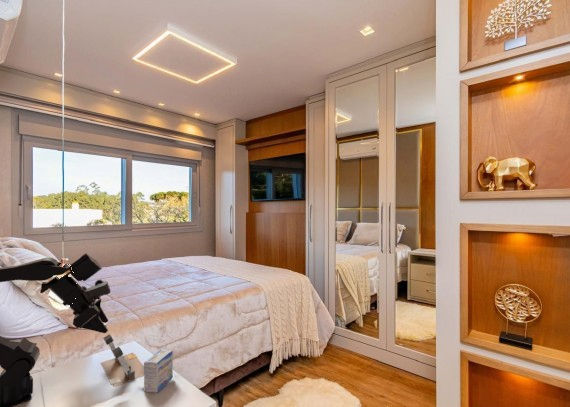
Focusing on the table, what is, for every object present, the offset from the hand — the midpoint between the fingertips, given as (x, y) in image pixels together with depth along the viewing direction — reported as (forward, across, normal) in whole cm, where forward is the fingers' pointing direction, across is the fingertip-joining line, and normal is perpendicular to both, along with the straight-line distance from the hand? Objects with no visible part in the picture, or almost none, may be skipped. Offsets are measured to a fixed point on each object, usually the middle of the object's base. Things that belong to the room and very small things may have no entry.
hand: (106, 326), depth 92 cm
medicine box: (+21, -13, -1) cm, 25 cm away
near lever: (+15, -6, +4) cm, 17 cm away
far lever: (+14, +6, +6) cm, 16 cm away
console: (+16, 0, +6) cm, 16 cm away
